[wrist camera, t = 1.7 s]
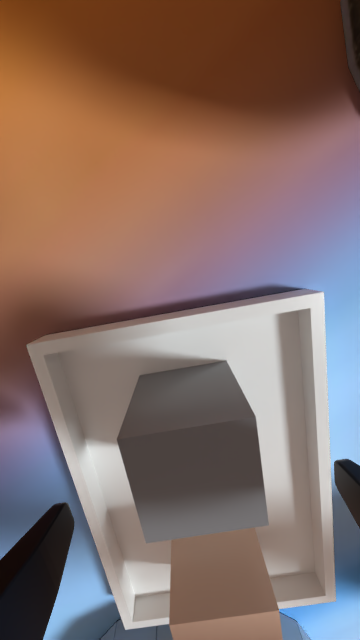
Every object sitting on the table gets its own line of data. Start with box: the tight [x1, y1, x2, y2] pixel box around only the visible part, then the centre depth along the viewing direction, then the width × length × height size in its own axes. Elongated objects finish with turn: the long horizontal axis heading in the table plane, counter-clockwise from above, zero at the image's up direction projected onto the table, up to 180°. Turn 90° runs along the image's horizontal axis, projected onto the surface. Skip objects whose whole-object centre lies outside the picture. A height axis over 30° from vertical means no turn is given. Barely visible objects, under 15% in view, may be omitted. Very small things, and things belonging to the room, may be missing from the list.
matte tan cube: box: [169, 527, 283, 640], centre depth 12 cm, size 4×4×4 cm
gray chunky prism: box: [117, 361, 269, 543], centre depth 10 cm, size 4×4×4 cm
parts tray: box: [26, 289, 336, 630], centre depth 13 cm, size 13×19×2 cm
